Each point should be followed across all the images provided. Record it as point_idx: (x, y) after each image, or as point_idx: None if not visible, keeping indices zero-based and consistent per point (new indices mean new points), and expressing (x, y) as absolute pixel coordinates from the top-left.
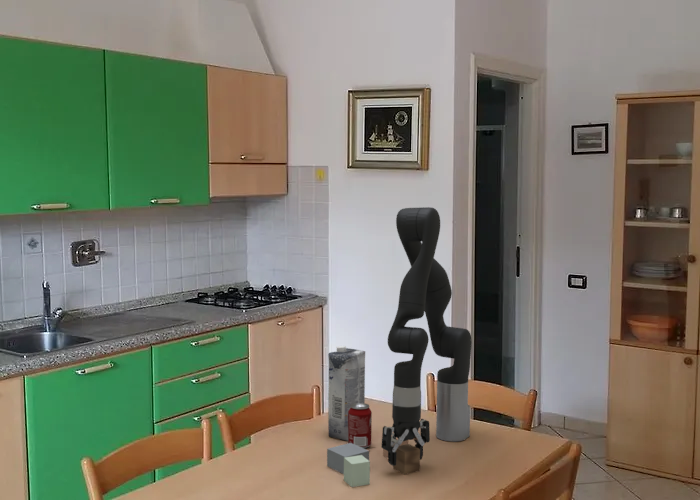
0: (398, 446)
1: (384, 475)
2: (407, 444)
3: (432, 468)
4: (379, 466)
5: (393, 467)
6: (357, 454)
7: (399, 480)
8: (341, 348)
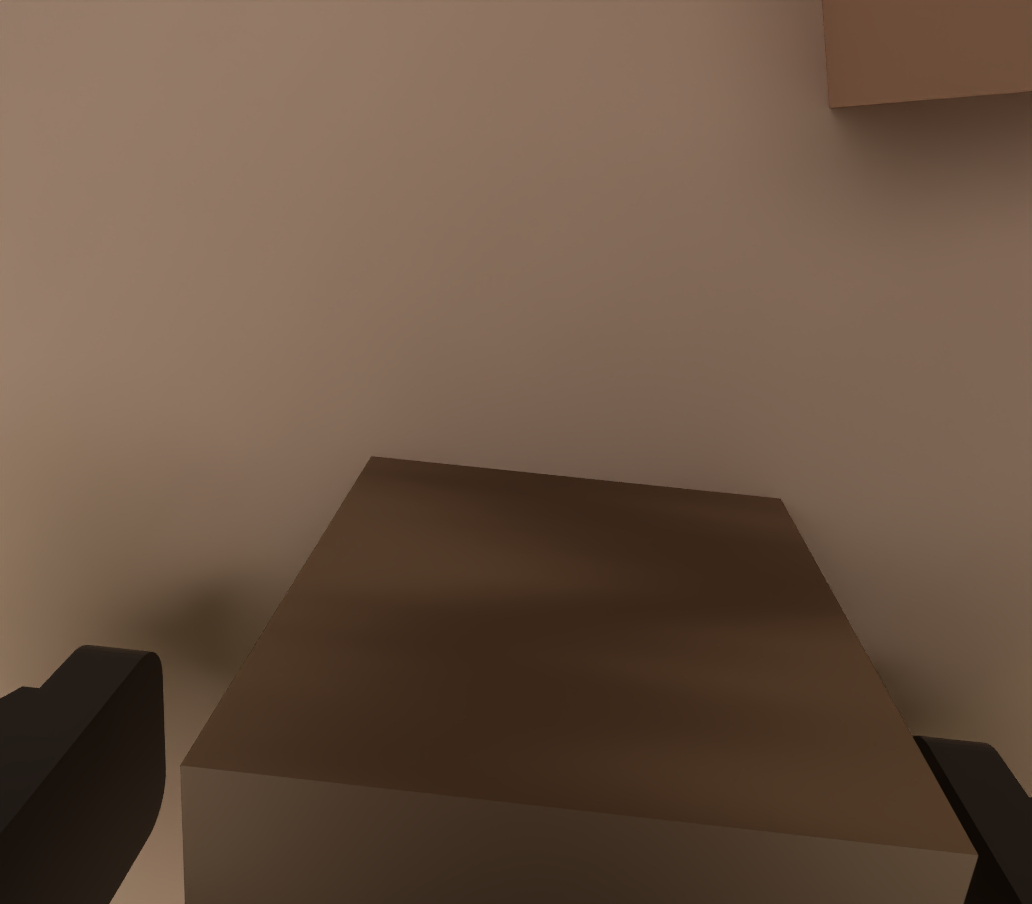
0: (397, 835)
1: (9, 602)
2: (876, 886)
3: None
4: (199, 153)
5: (364, 477)
6: None
7: (117, 900)
8: None
